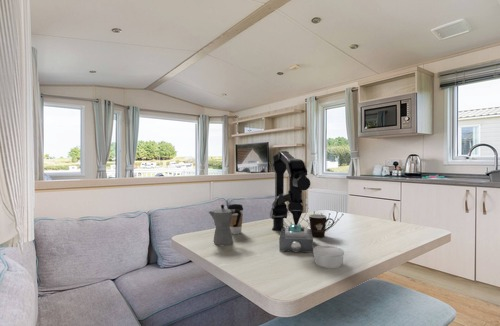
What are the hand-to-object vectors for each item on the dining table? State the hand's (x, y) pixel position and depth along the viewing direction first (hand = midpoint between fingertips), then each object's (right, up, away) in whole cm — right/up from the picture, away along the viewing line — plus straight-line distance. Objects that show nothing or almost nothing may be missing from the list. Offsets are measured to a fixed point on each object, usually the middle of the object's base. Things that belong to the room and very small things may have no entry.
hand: (296, 222), depth 122 cm
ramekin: (+9, -11, -21) cm, 25 cm away
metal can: (0, -10, -1) cm, 10 cm away
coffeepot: (-32, -11, +6) cm, 35 cm away
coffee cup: (-28, -11, +23) cm, 38 cm away
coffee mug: (+15, -10, +14) cm, 23 cm away
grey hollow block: (0, -11, -1) cm, 11 cm away
